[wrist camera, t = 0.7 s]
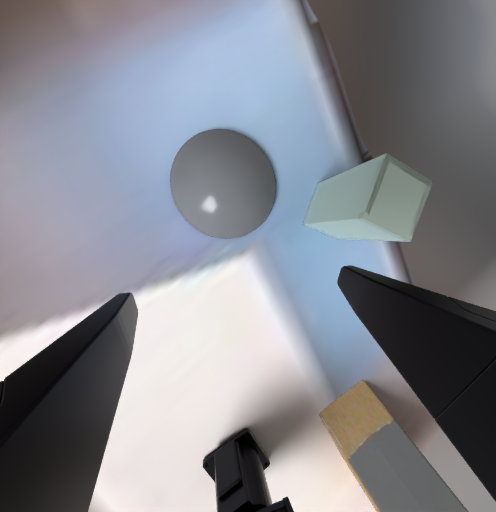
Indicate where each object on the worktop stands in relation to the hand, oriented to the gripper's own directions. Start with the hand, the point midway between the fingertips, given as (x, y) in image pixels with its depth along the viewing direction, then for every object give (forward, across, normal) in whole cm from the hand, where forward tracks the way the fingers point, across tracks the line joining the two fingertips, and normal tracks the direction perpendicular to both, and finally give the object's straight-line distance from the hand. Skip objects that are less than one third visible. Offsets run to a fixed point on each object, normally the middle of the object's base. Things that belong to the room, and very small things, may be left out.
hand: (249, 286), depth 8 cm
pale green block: (+14, -14, +1) cm, 20 cm away
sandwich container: (+2, -19, +32) cm, 37 cm away
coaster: (+15, -1, -2) cm, 16 cm away
